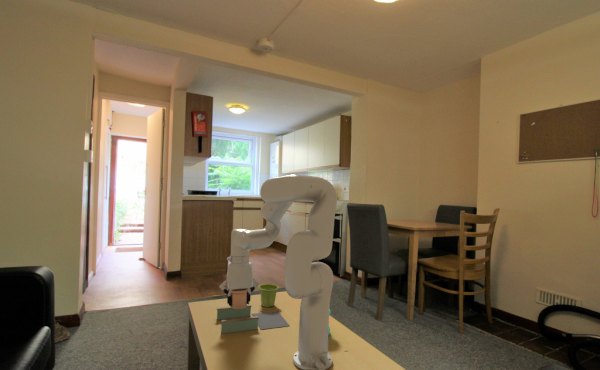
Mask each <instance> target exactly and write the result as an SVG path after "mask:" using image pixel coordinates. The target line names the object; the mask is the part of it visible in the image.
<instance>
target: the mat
mask: <svg viewBox="0 0 600 370" xmlns="http://www.w3.org/2000/svg"><path fill="white" fill-rule="evenodd" d="M254 316H258V317H259V319H258V328H259V329H260V330H261V331H262V330H263V331H264V330H271V329H278V328H279V329H280V328H284V327H285V328H286V327H290V324H289V323H288V321H287V320H286V319H285V317H283V316H282V314H281V313H280V312H279V311H278V310H274V311H266V312H258V313H257V312H255V313H251V317H254Z"/></svg>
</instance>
